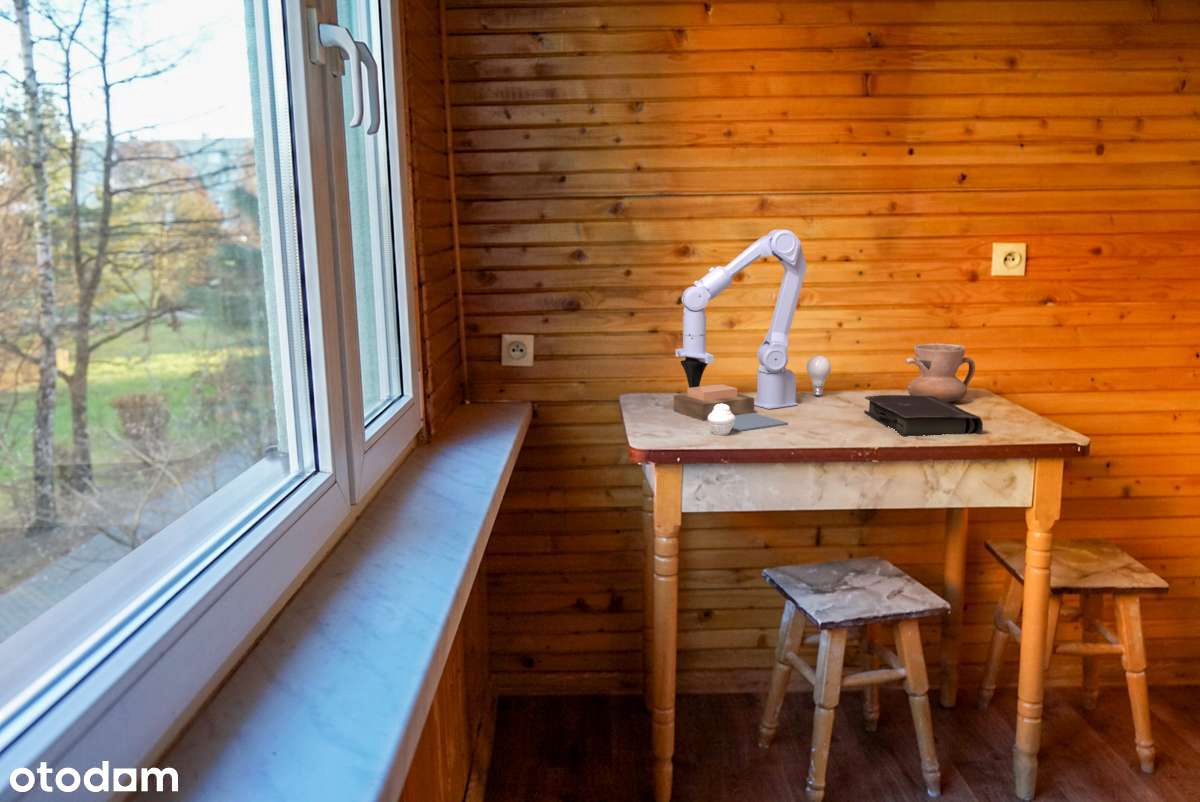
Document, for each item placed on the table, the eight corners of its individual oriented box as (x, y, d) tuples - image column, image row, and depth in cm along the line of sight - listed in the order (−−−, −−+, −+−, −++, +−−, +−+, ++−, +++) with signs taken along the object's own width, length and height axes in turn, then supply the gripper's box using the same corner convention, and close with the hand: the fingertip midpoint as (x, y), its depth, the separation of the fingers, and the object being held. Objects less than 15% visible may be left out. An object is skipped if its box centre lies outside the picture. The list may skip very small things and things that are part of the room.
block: (720, 391, 236) (720, 384, 236) (737, 396, 230) (737, 388, 230) (687, 395, 231) (687, 388, 231) (703, 400, 225) (703, 392, 225)
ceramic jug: (912, 407, 234) (915, 350, 232) (895, 396, 249) (897, 342, 246) (984, 406, 234) (988, 350, 231) (963, 395, 248) (966, 342, 246)
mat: (753, 414, 228) (753, 412, 228) (788, 424, 217) (788, 422, 217) (706, 420, 222) (706, 419, 222) (738, 431, 210) (739, 429, 210)
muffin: (738, 432, 210) (739, 401, 209) (730, 438, 205) (730, 406, 203) (712, 429, 213) (713, 399, 212) (703, 435, 208) (703, 404, 206)
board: (722, 404, 240) (723, 389, 239) (754, 413, 229) (754, 397, 228) (673, 411, 233) (673, 395, 232) (703, 420, 222) (703, 404, 221)
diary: (934, 414, 230) (936, 394, 229) (982, 438, 205) (983, 415, 204) (860, 415, 228) (861, 394, 227) (898, 439, 204) (900, 416, 203)
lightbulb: (802, 394, 252) (804, 353, 250) (826, 393, 253) (827, 353, 251) (809, 398, 246) (810, 357, 244) (833, 398, 247) (834, 356, 244)
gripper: (665, 332, 239) (665, 385, 242) (697, 339, 227) (696, 394, 229) (688, 330, 243) (688, 382, 245) (721, 336, 230) (720, 391, 233)
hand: (694, 387), depth 238 cm, fingers closed
